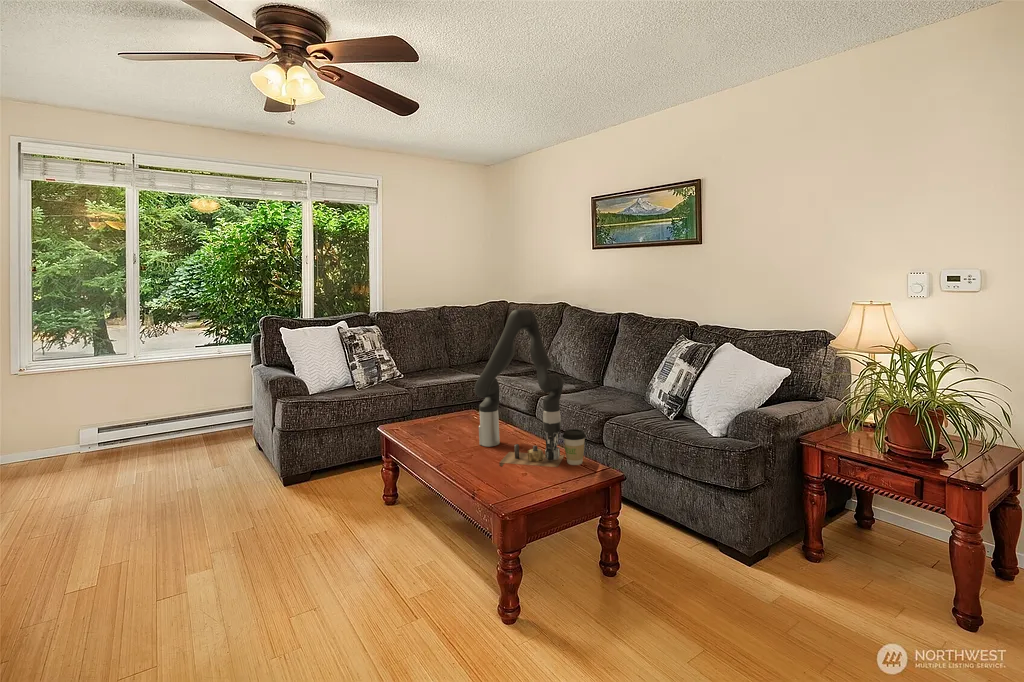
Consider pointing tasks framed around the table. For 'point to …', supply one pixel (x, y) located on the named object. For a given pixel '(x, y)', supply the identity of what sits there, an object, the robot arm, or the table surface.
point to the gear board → (530, 458)
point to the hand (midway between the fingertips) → (552, 457)
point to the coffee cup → (574, 446)
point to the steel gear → (555, 452)
